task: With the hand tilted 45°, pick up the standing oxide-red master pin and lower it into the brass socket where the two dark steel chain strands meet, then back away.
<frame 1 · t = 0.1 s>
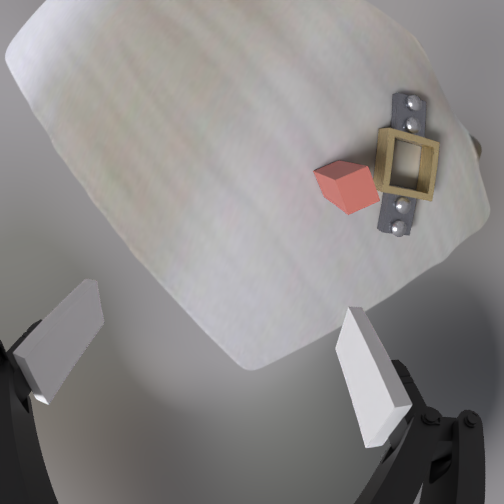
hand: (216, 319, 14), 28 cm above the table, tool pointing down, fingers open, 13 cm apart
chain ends: (401, 163, 37), on the table
link pin: (331, 178, 38), on the table
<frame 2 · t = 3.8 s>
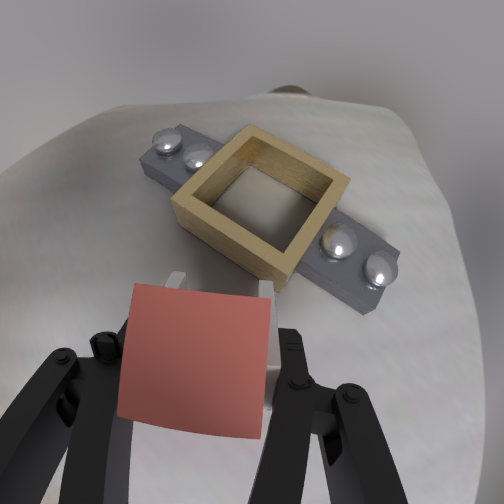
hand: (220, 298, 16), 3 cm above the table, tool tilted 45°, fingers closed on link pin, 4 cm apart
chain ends: (261, 212, 22), on the table
link pin: (217, 366, 17), on the table, touching gripper
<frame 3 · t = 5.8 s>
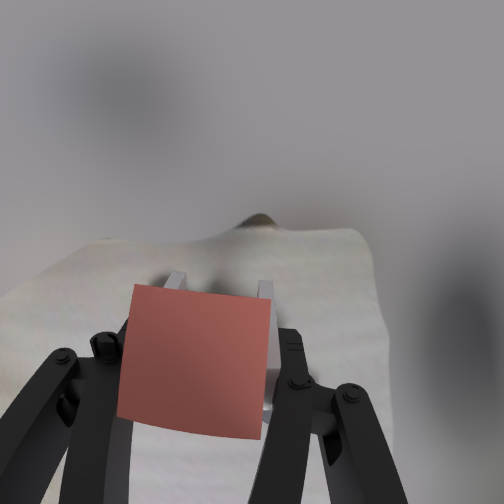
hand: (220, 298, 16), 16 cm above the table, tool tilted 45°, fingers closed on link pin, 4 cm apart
link pin: (217, 366, 17), point 12 cm above the table, touching gripper
when the fingers open (5 cm above the table, at t = 7.8 s): link pin drops 2 cm, resting in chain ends.
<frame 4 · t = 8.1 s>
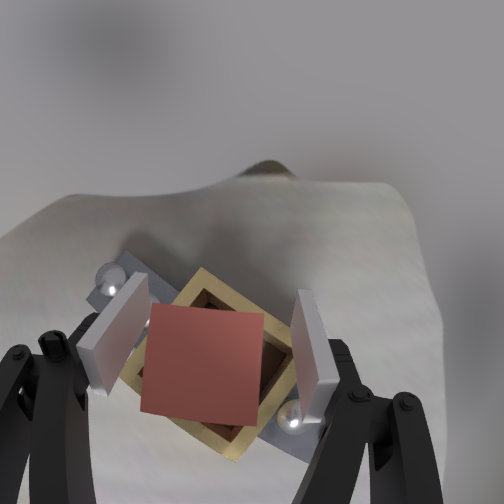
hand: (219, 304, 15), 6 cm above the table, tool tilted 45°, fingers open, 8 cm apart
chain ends: (219, 366, 19), on the table
link pin: (219, 367, 19), resting in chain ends
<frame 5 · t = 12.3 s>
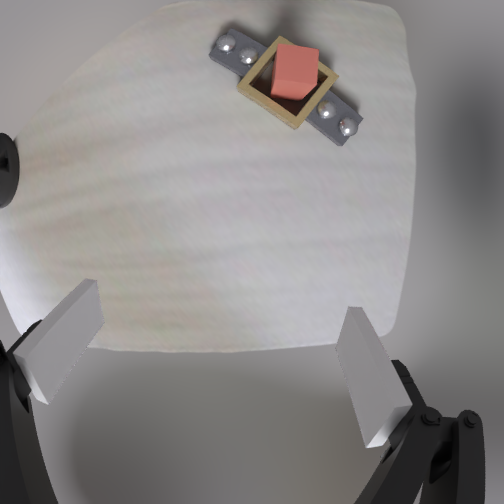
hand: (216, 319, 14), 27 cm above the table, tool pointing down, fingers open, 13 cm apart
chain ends: (286, 84, 33), on the table
link pin: (286, 85, 33), resting in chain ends
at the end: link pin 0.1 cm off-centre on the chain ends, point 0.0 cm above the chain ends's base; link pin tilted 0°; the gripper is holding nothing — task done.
